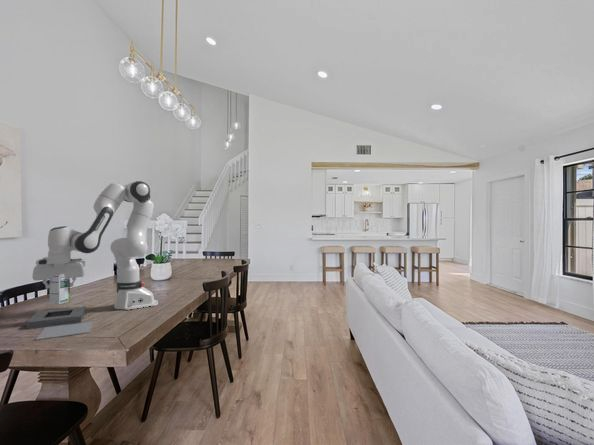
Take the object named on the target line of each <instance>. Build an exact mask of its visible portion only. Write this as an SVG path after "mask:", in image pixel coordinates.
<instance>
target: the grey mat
mask: <svg viewBox="0 0 594 445" xmlns="http://www.w3.org/2000/svg"><path fill="white" fill-rule="evenodd" d="M93 323H94V322H93V321H88V322H80V323H72V324H64V325H56V326H48V327H43V329H42V331H41V332H40V333H39V334H38V336H37V337H36V338H35V341H40V340H48V339H49V340H50V339H56V338H63V337H70V336H77V335H84V334H89V333H90V332H91V329H92V326H93Z"/></svg>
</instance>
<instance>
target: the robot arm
mask: <svg viewBox="0 0 594 445" xmlns="http://www.w3.org/2000/svg"><path fill="white" fill-rule="evenodd" d="M124 201H125V202H127V203H132V204H133V206H132V208H133V209H132V210H131V212H130V215H129V218H128V220H127V223H126V228H127V236H126V237H121V238H116V239H114V240H113V241H112V242H111V243H110V251H111V253H112V254H113V255H114V256H113V257H114V259H115V262H116V269H117V270H116V271H117V282H116V286H115V288H116V289H115V291H116V298H115V303H114V307H113V308H114V309H116V310H124V311H129V310H130V309H132V310H137V308H138V309H143V307H144V308H149V306H151V307H156V306H157V305H158V304H159V301H158V300H157V299H155V297H154V293H153V292H152V291H151V290H149V289H148V288H146V287H145V282H144V281H143V280H141V279H140V265H138V264H139V263H137V260H136V258H140V257H144V256H145V255H146V254H147V253H148V249H149V247H148V244H147V231H148V228H149V225H150V223H151V220H152V217H153V213H154V208H155V204H154V202H153V201H151V189H150V185H149V184H148V183H146V182H144V181H139V180H137V181H134V182H130V183H128V184H126V185H122V184H120V183H117V182H112V183H110V184H109V185H107V186H106V187H105V188H104V189H103V190H102V192H100V194H99V195H98V196H97V198H96V200H95V202H94V204H93V210H94V212H95V213H96V217H95V219H94V220H93V222H92V223H91V225H90V226H89V228H88V230H87V231H85V232H81V231H78V230H74V229H72V228H70V227H69V226H68V225H67V226H57V227H53V228H52V227H51V229H50V230H49V231H48V236H47V247H48V252H47V256H45V257H43V258H40V259H37V260H36V261H35V266H34V267H33V270H32V280H34V281H42V284H44V286H45V290H50V284H49V283H48V280H50V279H53V278H54V274H64V277H65V278H70V279H72V282H70V283H69V285H70V286H69V287H70V288H71V287H72V288H73V287H74V283H75V281H76V280H77V278H83V277H84V276H85V274H86V273H85V272H86V271H85V270H86V269H85V266H86V260H85V259H83V258H72V257H71V256H72V253H71V252H72V251H75V252H80V253H83V254H91V253H94V252H95V251H97V250H98V248H99V247H100V245H101V241H102V240H101V239H102V236H103V234H104V232H105V231H106V229H107V227H108V226H109V224H110V222H111V220H112V218H113V217H114V214H116V212H117V210H118V209H119V208H120V206H121V205H122V203H123V202H124Z"/></svg>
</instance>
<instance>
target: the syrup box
mask: <svg viewBox="0 0 594 445" xmlns="http://www.w3.org/2000/svg"><path fill="white" fill-rule="evenodd" d="M70 279H71V278H65V277H64V274H54V278H53V279H49V285H50V289H49V304H51V305H62V304H65V303H69V302H70V301H71V287H69V286H70V285H69V283H71V282H70V281H71V280H70Z"/></svg>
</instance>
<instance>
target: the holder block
mask: <svg viewBox="0 0 594 445" xmlns="http://www.w3.org/2000/svg"><path fill="white" fill-rule="evenodd" d="M86 312H87V306H86V305H85V306H84V305H83V306H78V307H77V306H75V307H65V308H57V309H48V310H38V311H36V312H35V313H34V315H33V316H31V317H30V318H29V319H28V320H27V321H26V327H25V330H30V329H39V328H47V327H55V326H63V325H71V324H78V323H82V320H83V319H84V317H85V314H86Z"/></svg>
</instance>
